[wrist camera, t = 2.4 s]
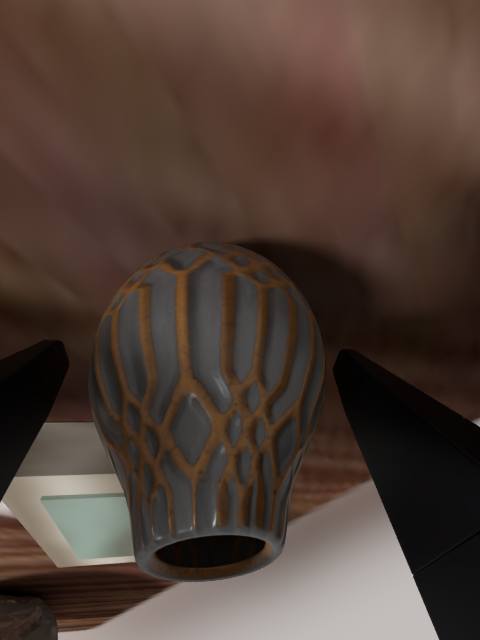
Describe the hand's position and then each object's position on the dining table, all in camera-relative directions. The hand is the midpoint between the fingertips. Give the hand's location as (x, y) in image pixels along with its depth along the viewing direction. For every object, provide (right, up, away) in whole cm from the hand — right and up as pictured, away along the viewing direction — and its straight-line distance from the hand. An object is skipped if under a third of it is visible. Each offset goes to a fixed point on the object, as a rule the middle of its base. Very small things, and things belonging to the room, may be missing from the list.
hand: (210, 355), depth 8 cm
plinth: (-6, -11, +10) cm, 16 cm away
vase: (0, +2, +3) cm, 4 cm away
